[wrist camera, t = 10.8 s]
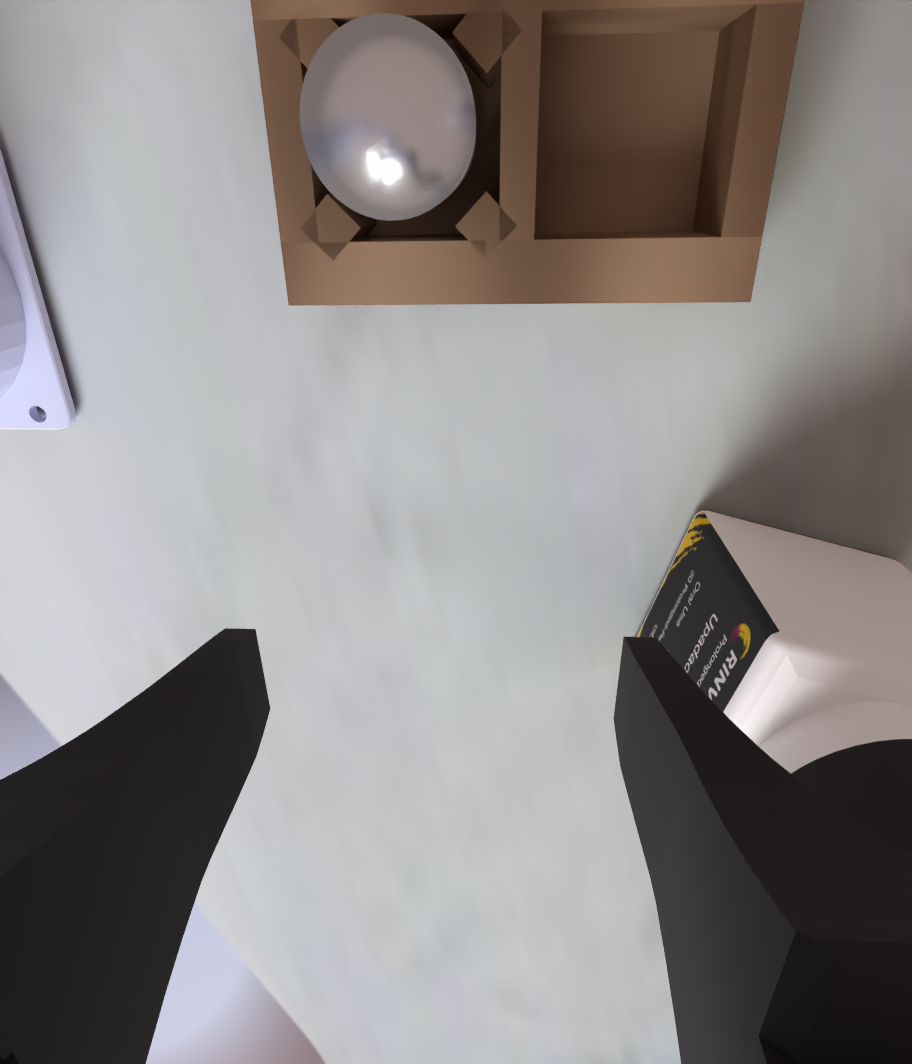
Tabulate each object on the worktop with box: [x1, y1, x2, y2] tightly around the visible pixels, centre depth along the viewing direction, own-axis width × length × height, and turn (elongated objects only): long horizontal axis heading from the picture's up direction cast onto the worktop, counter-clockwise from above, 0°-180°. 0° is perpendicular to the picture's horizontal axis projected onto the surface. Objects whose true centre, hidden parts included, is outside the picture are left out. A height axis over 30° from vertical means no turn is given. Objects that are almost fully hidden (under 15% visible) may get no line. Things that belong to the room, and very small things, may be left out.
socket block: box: [251, 0, 804, 305], centre depth 16 cm, size 11×7×3 cm, turn 91°
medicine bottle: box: [637, 510, 912, 857], centre depth 18 cm, size 7×7×12 cm
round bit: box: [300, 13, 477, 221], centre depth 14 cm, size 3×3×6 cm
